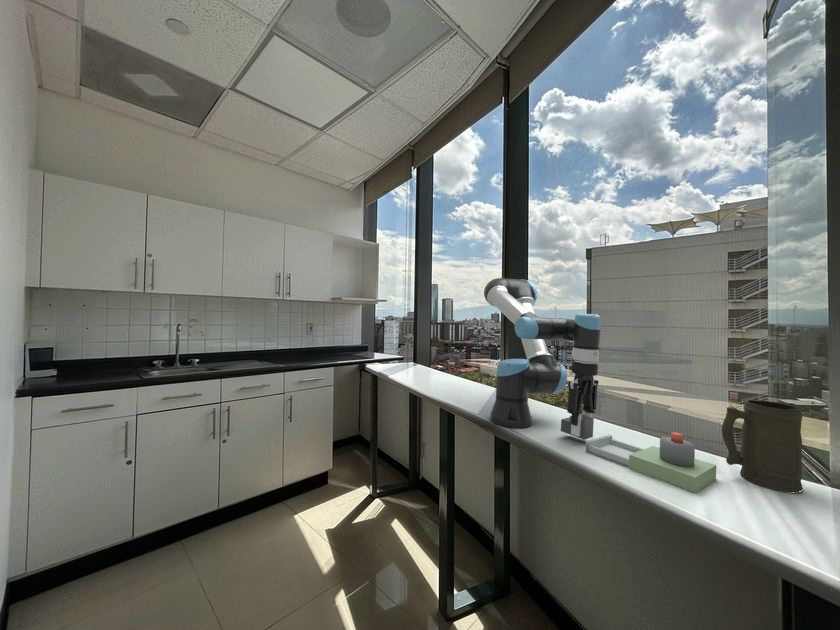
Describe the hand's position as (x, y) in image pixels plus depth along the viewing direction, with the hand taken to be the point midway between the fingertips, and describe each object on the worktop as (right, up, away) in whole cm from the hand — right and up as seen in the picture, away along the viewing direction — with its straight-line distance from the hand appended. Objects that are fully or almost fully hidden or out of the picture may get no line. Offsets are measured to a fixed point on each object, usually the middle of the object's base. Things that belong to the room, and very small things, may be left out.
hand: (580, 433), depth 105 cm
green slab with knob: (+10, -3, -16) cm, 19 cm away
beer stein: (+34, -4, -23) cm, 41 cm away
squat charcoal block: (-1, -1, +1) cm, 1 cm away
